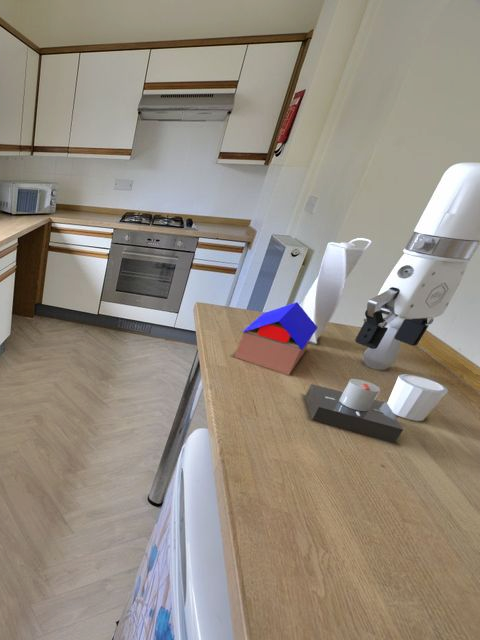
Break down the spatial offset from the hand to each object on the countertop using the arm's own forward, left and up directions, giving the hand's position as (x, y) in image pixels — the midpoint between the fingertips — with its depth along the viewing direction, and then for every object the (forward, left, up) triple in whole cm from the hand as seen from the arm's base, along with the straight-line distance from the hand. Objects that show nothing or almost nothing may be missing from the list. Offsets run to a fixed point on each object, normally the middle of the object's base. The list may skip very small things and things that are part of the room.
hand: (385, 343), depth 72 cm
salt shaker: (-11, -33, -16) cm, 38 cm away
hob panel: (0, 0, -16) cm, 16 cm away
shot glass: (-11, -10, -16) cm, 22 cm away
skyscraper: (+2, -43, -16) cm, 46 cm away
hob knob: (0, 0, -13) cm, 13 cm away
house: (+11, -25, -16) cm, 32 cm away
